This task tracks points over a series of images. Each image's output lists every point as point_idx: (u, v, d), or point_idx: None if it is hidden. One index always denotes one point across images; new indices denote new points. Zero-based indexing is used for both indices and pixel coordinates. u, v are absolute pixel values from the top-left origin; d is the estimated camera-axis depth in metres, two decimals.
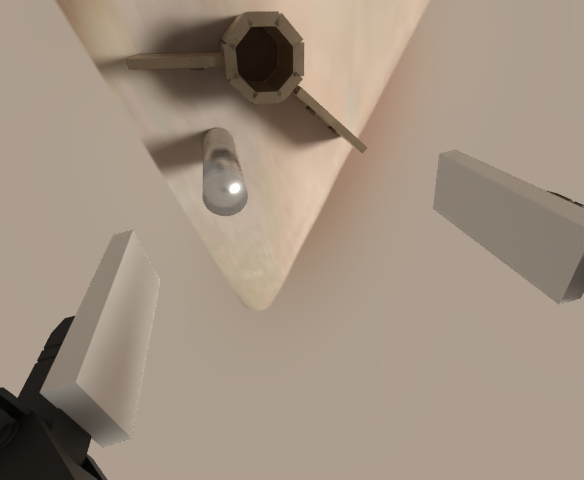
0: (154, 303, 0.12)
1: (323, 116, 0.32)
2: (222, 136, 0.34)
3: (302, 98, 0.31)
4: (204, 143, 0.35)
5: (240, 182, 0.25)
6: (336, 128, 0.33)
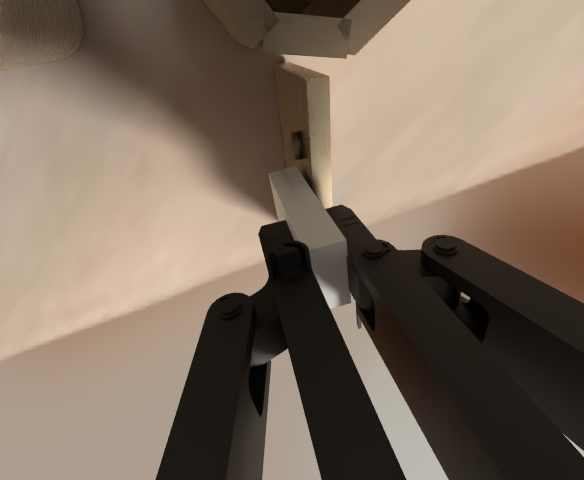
0: None
1: (316, 178, 0.13)
2: None
3: (311, 101, 0.11)
4: None
5: None
6: None
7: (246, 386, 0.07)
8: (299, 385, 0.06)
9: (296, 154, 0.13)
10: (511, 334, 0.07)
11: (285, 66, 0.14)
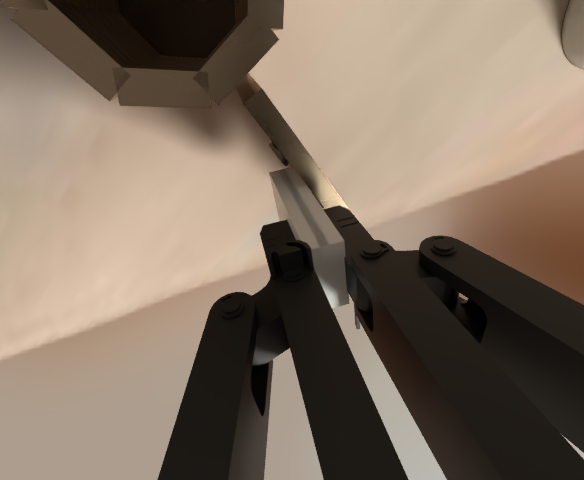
0: None
1: (306, 177, 0.13)
2: None
3: (259, 118, 0.11)
4: None
5: None
6: None
7: (248, 385, 0.07)
8: (301, 384, 0.06)
9: (282, 162, 0.13)
10: (509, 335, 0.07)
11: (240, 83, 0.15)
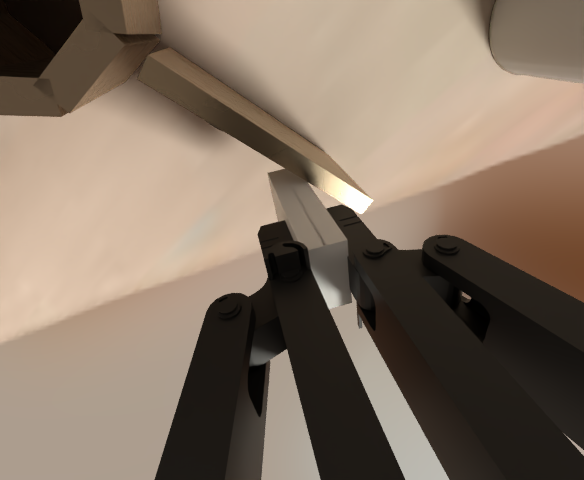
0: None
1: (240, 136, 0.11)
2: None
3: (161, 89, 0.10)
4: None
5: None
6: (284, 163, 0.12)
7: (245, 386, 0.07)
8: (298, 385, 0.06)
9: (219, 128, 0.12)
10: (512, 334, 0.07)
11: None
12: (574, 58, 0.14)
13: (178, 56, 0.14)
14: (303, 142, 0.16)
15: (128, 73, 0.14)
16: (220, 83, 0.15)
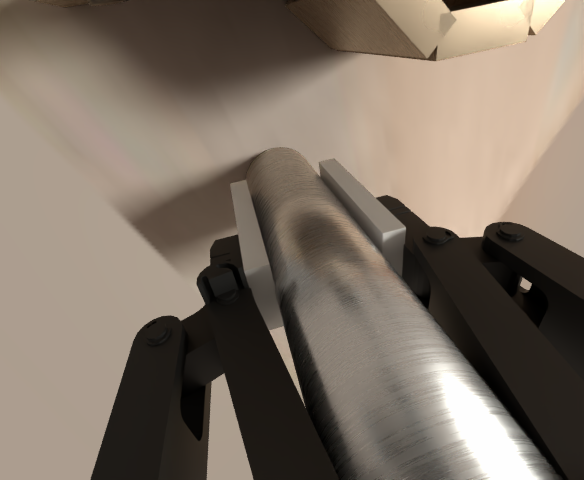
0: None
1: None
2: (300, 173, 0.13)
3: None
4: (254, 194, 0.14)
5: None
6: None
7: (177, 411, 0.06)
8: (238, 415, 0.06)
9: None
10: (570, 321, 0.07)
11: None
12: None
13: None
14: None
15: None
16: None
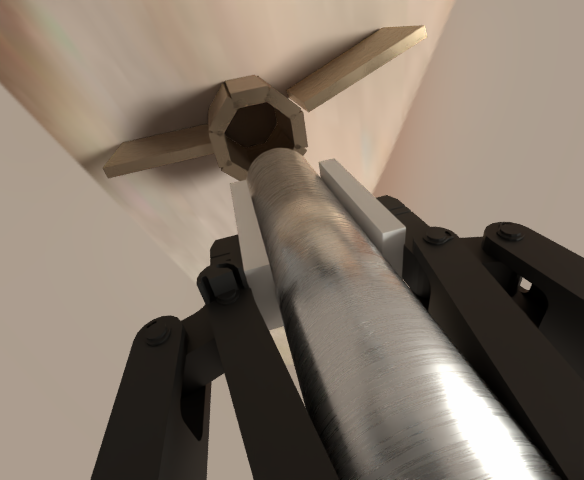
0: None
1: (349, 83, 0.23)
2: (300, 173, 0.13)
3: (316, 105, 0.24)
4: (254, 195, 0.14)
5: None
6: (372, 69, 0.23)
7: (177, 411, 0.06)
8: (238, 415, 0.06)
9: None
10: (570, 321, 0.07)
11: (293, 99, 0.28)
12: None
13: (294, 89, 0.27)
14: (366, 45, 0.26)
15: None
16: (313, 75, 0.28)
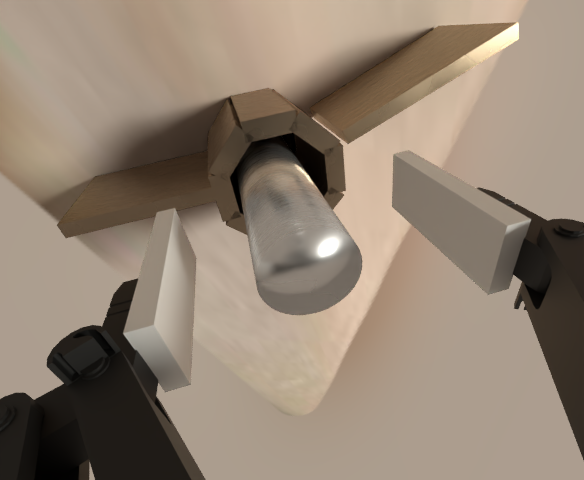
0: (194, 276, 0.13)
1: (406, 104, 0.17)
2: None
3: (358, 134, 0.17)
4: None
5: (346, 238, 0.10)
6: (440, 84, 0.16)
7: None
8: None
9: None
10: None
11: (320, 120, 0.21)
12: None
13: (322, 107, 0.21)
14: (421, 49, 0.19)
15: None
16: (346, 89, 0.21)
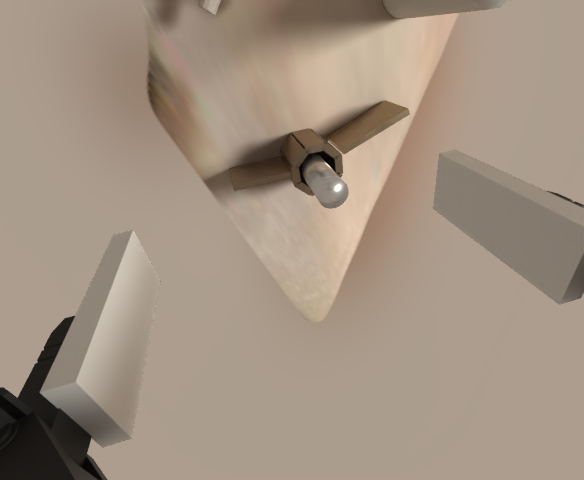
0: (154, 303, 0.12)
1: (366, 139, 0.42)
2: None
3: (348, 150, 0.43)
4: None
5: (343, 182, 0.36)
6: (379, 131, 0.42)
7: None
8: None
9: None
10: None
11: (331, 143, 0.46)
12: None
13: (332, 137, 0.46)
14: (375, 113, 0.45)
15: None
16: (343, 128, 0.47)
